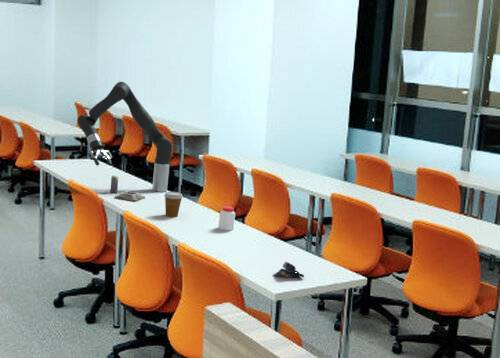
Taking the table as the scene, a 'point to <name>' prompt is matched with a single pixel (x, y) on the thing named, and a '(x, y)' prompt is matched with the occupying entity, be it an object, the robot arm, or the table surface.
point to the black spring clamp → (288, 271)
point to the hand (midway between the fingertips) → (104, 164)
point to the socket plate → (130, 196)
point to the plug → (114, 184)
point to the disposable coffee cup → (172, 203)
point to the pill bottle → (226, 218)
